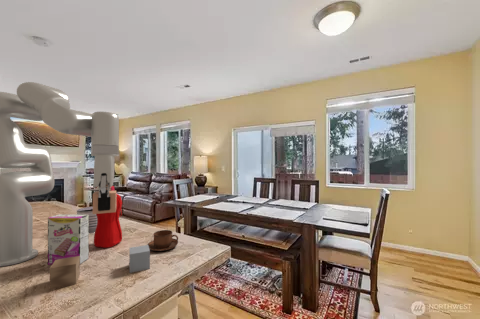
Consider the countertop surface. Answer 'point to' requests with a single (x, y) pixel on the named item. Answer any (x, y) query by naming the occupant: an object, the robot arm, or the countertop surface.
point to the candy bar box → (68, 237)
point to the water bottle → (109, 226)
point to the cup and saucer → (163, 241)
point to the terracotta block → (112, 202)
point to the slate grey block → (139, 258)
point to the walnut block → (64, 272)
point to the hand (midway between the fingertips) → (105, 207)
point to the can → (91, 216)
